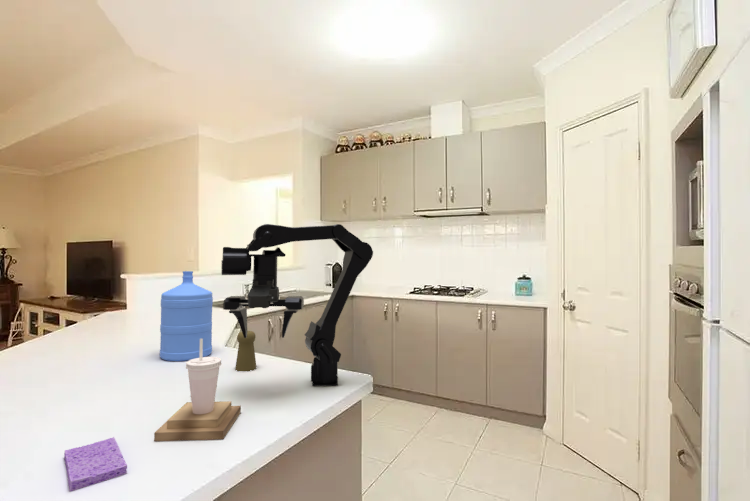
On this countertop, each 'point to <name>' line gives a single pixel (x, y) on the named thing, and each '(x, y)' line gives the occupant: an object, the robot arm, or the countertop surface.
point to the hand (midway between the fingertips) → (264, 337)
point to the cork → (246, 352)
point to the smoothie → (203, 381)
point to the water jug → (186, 321)
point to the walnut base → (198, 431)
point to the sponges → (94, 463)
